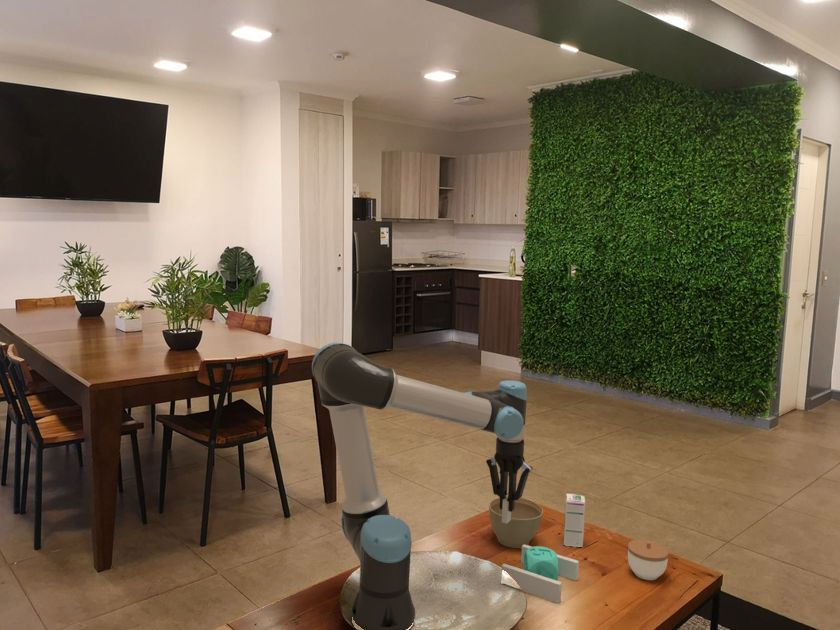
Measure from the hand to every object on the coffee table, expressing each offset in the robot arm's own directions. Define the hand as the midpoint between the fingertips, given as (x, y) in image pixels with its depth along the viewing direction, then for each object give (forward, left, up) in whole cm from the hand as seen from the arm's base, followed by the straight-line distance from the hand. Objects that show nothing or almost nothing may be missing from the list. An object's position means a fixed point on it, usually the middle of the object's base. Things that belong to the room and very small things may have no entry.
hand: (506, 521), depth 179 cm
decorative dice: (+11, 0, -14) cm, 18 cm away
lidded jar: (+34, +21, -14) cm, 42 cm away
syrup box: (+11, +27, -14) cm, 32 cm away
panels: (+11, 0, -14) cm, 17 cm away
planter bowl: (-4, +17, -14) cm, 22 cm away
